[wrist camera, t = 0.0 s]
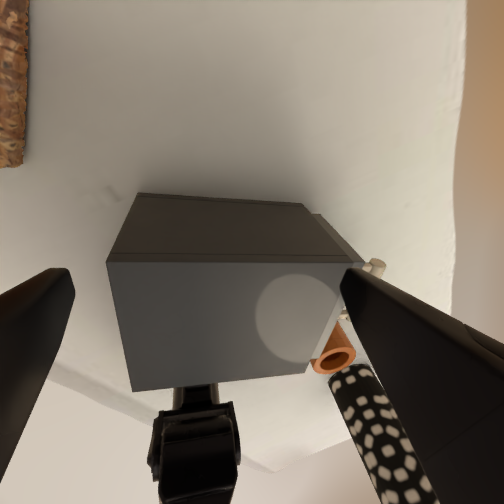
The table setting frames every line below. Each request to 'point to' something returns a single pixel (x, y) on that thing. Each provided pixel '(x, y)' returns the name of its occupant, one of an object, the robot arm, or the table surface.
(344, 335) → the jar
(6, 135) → the bird sculpture
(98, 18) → the table surface
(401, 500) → the spotted tube
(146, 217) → the cabinet
